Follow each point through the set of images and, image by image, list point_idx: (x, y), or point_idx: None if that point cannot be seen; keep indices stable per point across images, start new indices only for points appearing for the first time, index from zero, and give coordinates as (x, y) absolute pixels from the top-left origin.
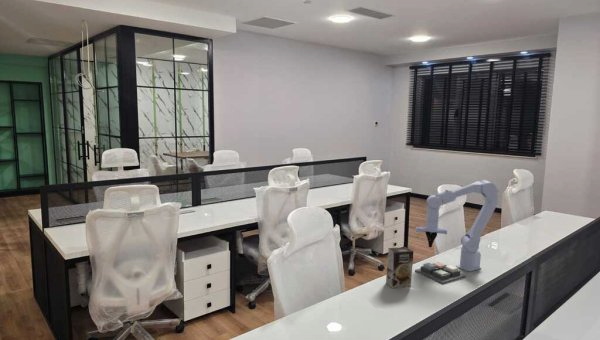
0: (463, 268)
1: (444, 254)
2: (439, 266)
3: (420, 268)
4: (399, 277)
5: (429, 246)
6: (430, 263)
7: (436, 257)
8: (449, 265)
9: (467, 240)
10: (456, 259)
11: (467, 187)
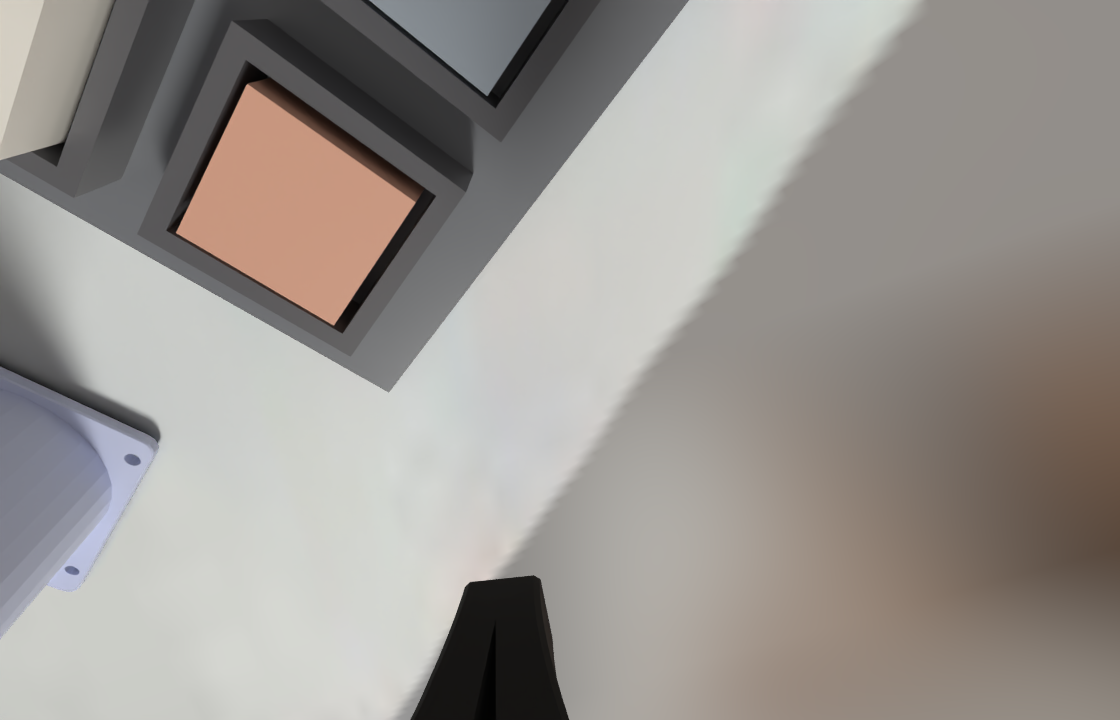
0: (10, 386)
1: (388, 697)
2: (263, 92)
3: (653, 34)
4: None
5: (522, 591)
6: (449, 42)
7: (455, 609)
8: (5, 102)
9: None
10: (236, 634)
11: None
